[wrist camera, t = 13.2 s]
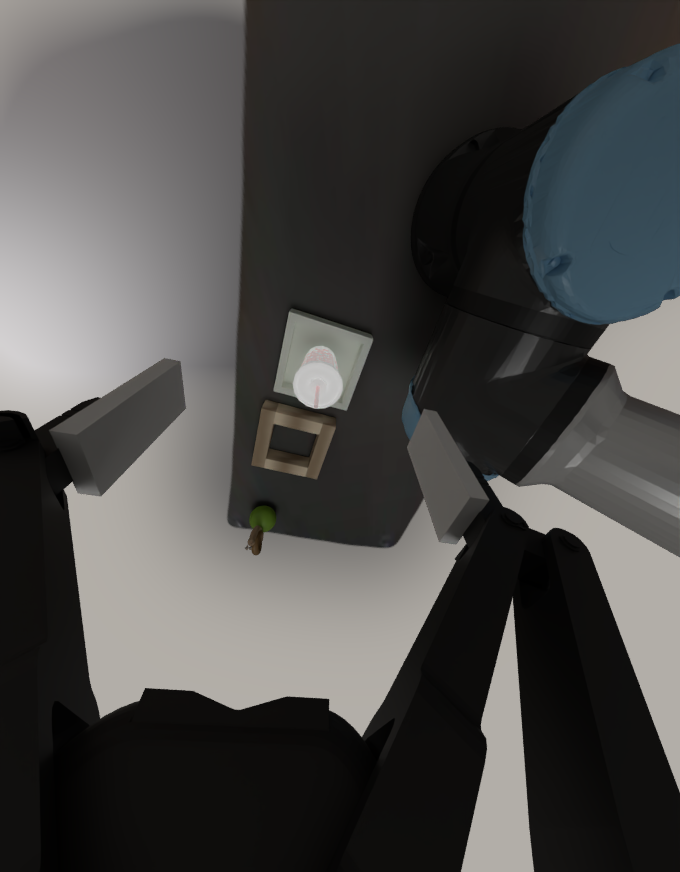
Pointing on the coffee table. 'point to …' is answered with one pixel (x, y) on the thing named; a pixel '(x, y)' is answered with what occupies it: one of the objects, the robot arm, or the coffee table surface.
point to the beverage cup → (318, 379)
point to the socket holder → (296, 420)
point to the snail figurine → (260, 526)
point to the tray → (321, 332)
